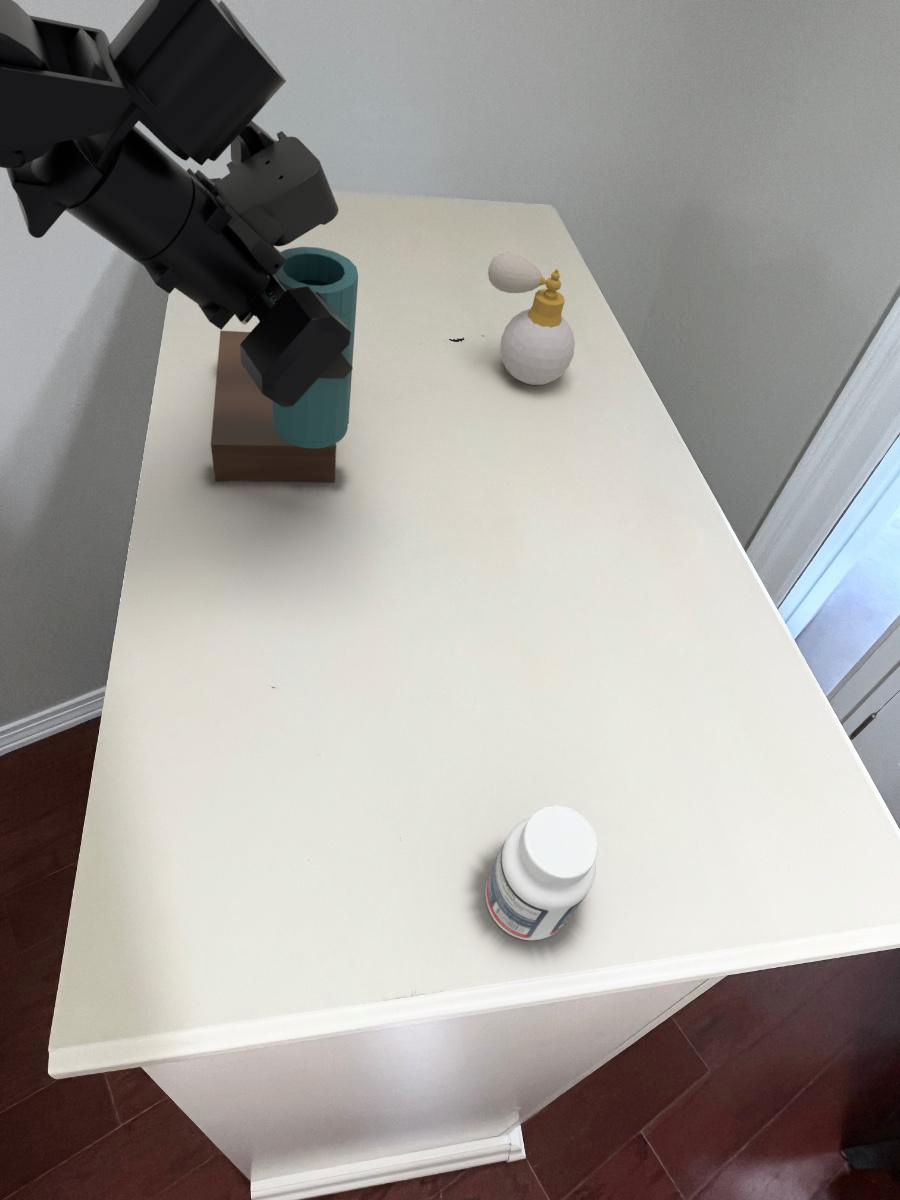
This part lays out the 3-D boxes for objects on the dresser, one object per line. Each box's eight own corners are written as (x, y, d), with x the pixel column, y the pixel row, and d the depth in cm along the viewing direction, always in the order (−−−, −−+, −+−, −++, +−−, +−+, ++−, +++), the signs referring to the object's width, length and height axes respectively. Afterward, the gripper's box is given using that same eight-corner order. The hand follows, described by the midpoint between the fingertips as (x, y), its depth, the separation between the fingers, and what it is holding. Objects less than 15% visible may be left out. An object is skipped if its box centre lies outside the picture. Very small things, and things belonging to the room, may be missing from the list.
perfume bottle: (573, 398, 81) (607, 290, 72) (481, 397, 79) (504, 285, 70) (555, 355, 86) (584, 248, 77) (467, 353, 84) (487, 242, 74)
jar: (293, 456, 60) (292, 298, 50) (260, 411, 63) (254, 253, 53) (360, 437, 62) (373, 284, 52) (327, 395, 65) (332, 241, 55)
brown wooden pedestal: (334, 482, 68) (336, 447, 65) (215, 481, 67) (210, 444, 63) (328, 371, 78) (329, 335, 75) (223, 367, 76) (220, 330, 73)
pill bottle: (556, 850, 50) (596, 788, 43) (578, 935, 47) (625, 883, 40) (476, 860, 49) (503, 798, 42) (493, 948, 46) (525, 896, 39)
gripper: (324, 176, 38) (474, 337, 52) (190, 36, 48) (346, 203, 61) (181, 346, 41) (358, 458, 54) (80, 182, 50) (253, 312, 63)
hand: (329, 349), depth 58 cm, fingers closed on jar, 6 cm apart
